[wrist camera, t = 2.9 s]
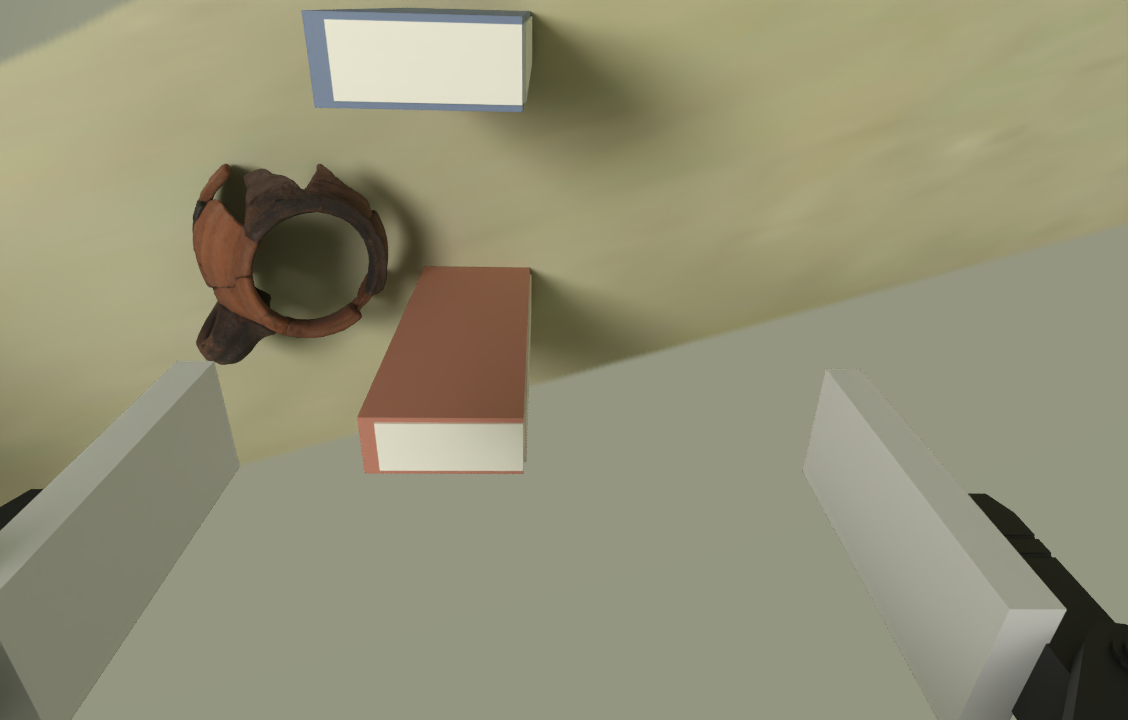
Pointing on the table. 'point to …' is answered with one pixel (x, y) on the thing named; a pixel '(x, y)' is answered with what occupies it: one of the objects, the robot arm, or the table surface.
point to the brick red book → (454, 377)
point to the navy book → (419, 58)
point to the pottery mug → (234, 244)
